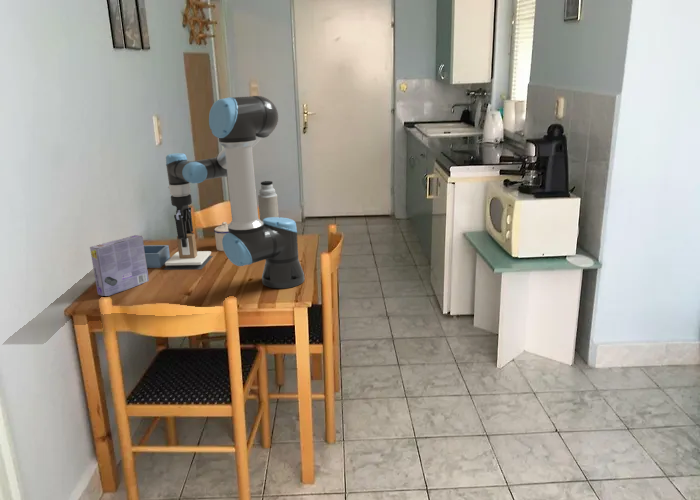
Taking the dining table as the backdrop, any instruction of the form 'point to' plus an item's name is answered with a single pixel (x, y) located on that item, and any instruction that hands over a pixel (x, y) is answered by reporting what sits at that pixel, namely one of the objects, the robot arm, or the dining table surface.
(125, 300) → the dining table surface
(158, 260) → the blue open box
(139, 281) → the cake pan box
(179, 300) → the dining table surface
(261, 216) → the thermos bottle
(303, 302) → the dining table surface
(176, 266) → the mat
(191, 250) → the lid
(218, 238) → the teacup with lid
